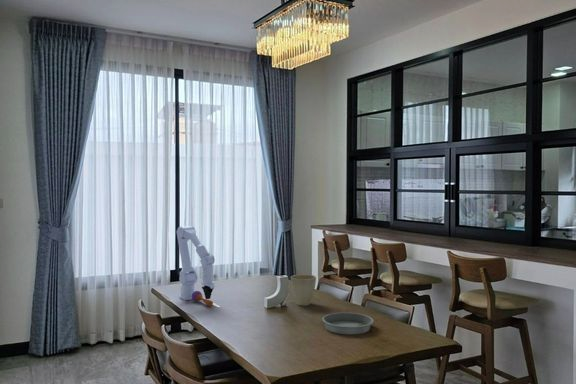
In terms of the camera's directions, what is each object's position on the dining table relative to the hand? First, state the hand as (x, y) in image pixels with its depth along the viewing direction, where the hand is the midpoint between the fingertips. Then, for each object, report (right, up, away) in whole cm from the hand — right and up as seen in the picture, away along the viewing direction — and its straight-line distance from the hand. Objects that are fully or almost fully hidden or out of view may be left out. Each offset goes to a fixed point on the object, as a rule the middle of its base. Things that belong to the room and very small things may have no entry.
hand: (207, 298), depth 285 cm
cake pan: (+76, -4, -50) cm, 91 cm away
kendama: (-2, -2, -2) cm, 3 cm away
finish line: (+1, -3, +1) cm, 3 cm away
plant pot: (+56, -3, -3) cm, 56 cm away
